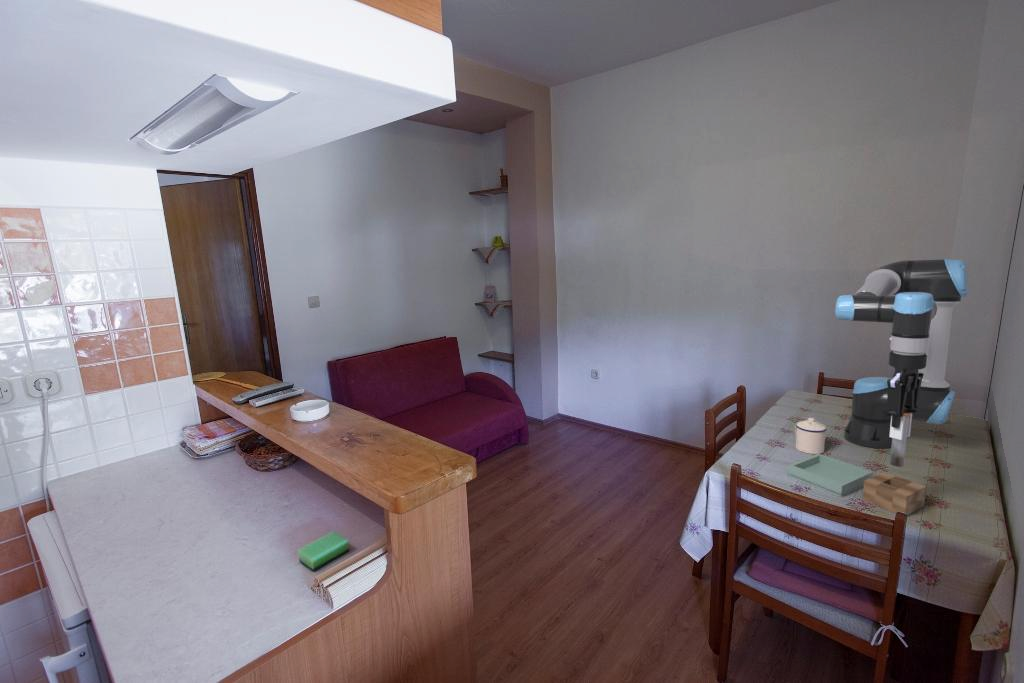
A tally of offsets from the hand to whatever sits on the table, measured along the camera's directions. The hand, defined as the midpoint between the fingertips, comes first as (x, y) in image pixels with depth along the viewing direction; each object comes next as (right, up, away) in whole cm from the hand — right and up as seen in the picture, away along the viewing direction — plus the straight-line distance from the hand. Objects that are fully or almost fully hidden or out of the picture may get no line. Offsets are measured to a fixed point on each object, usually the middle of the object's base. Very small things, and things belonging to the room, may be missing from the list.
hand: (899, 436), depth 126 cm
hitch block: (+1, -19, +3) cm, 20 cm away
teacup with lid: (+1, -13, +41) cm, 43 cm away
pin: (0, -8, +1) cm, 8 cm away
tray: (-7, -17, +18) cm, 26 cm away
